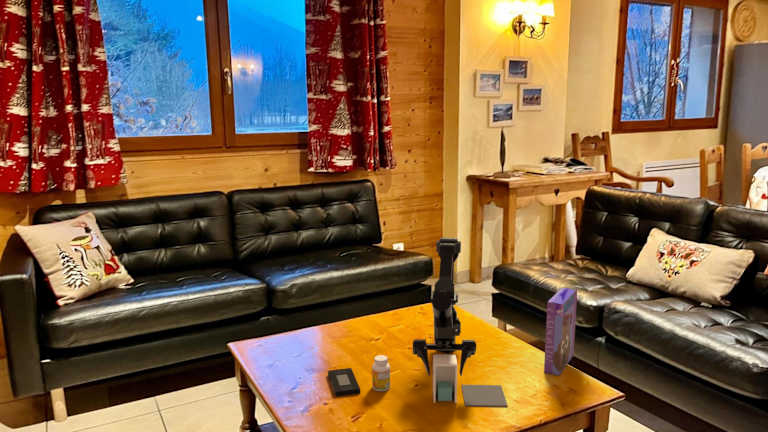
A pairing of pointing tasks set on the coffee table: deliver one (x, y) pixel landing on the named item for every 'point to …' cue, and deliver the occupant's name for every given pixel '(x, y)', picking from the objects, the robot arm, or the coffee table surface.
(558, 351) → the cereal box
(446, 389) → the teal cube
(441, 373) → the white boxy piece
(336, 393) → the vhs tape
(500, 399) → the mat
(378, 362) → the supplement bottle
